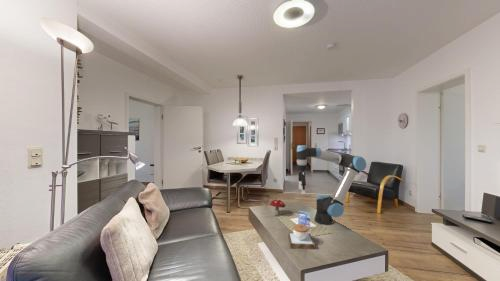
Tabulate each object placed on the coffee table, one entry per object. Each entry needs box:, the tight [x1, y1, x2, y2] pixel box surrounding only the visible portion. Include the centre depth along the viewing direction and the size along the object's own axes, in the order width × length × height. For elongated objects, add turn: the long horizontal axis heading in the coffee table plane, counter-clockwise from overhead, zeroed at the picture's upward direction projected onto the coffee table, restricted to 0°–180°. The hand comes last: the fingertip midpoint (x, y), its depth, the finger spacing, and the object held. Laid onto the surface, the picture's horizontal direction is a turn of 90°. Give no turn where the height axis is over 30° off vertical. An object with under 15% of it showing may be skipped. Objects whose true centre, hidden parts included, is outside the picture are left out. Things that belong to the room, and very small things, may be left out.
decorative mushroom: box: [268, 198, 286, 217], centre depth 191 cm, size 16×16×15 cm
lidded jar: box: [292, 223, 309, 240], centre depth 140 cm, size 11×11×9 cm
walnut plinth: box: [287, 232, 316, 250], centre depth 140 cm, size 16×16×3 cm
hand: (301, 191), depth 158 cm, fingers open, 13 cm apart
